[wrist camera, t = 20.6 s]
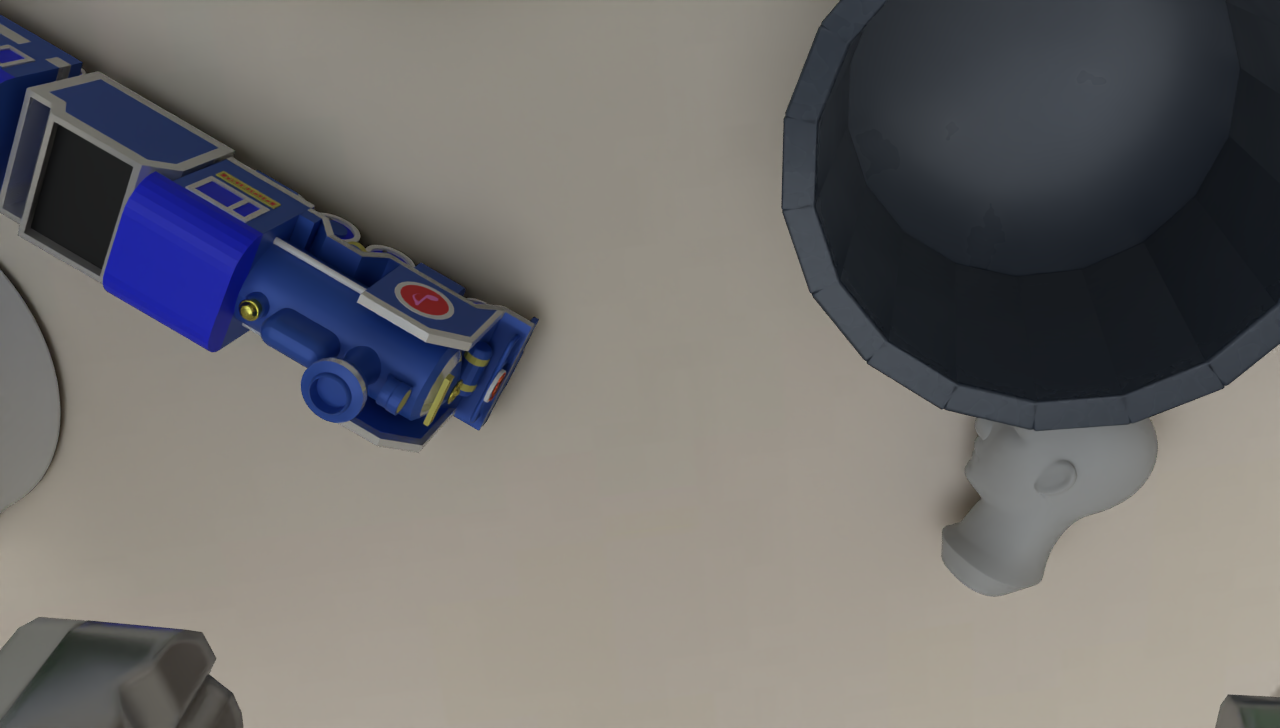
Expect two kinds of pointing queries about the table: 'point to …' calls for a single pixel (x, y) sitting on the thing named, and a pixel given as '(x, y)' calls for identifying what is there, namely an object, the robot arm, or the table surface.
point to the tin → (1043, 199)
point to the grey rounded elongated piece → (1039, 496)
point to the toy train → (240, 253)
